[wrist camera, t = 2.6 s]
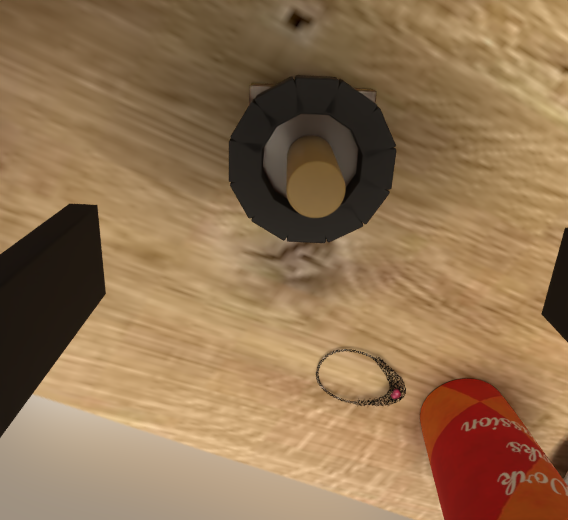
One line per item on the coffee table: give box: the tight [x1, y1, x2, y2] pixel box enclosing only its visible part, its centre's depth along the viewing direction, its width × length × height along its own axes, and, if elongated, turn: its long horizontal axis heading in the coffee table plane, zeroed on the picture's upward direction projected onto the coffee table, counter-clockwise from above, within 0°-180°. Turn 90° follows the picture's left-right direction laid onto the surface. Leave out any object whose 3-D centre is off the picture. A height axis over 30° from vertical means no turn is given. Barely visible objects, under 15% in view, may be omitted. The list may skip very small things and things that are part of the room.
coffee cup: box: [420, 379, 568, 520], centre depth 29 cm, size 8×8×15 cm
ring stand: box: [249, 83, 376, 218], centre depth 25 cm, size 7×7×9 cm
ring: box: [229, 75, 396, 243], centre depth 26 cm, size 8×8×2 cm
